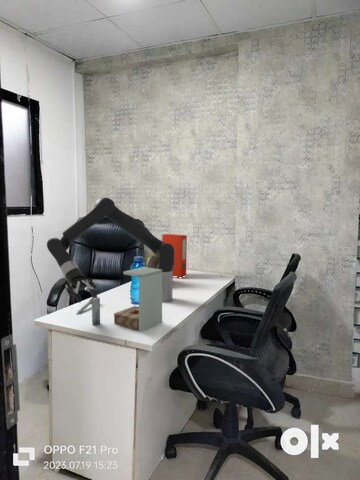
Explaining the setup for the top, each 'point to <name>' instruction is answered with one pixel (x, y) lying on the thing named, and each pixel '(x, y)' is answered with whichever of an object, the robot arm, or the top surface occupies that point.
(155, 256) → the decorative clock
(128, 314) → the socket block
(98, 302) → the steel peg
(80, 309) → the caliper
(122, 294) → the top surface
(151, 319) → the pale green block
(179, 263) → the file binder
